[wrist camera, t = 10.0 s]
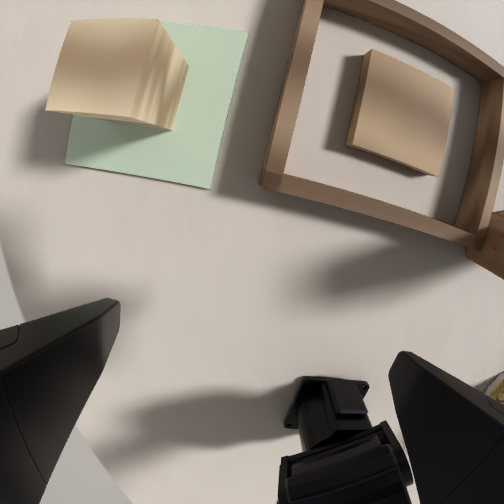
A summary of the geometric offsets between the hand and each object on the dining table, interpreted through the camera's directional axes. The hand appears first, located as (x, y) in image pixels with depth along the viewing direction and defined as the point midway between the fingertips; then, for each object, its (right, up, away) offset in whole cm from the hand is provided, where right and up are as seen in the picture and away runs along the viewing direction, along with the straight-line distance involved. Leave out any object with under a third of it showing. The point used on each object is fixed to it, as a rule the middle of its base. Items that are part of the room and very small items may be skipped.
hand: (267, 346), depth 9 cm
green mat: (-7, +13, +9) cm, 18 cm away
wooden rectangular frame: (+10, +12, +10) cm, 19 cm away
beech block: (-7, +13, +9) cm, 17 cm away
